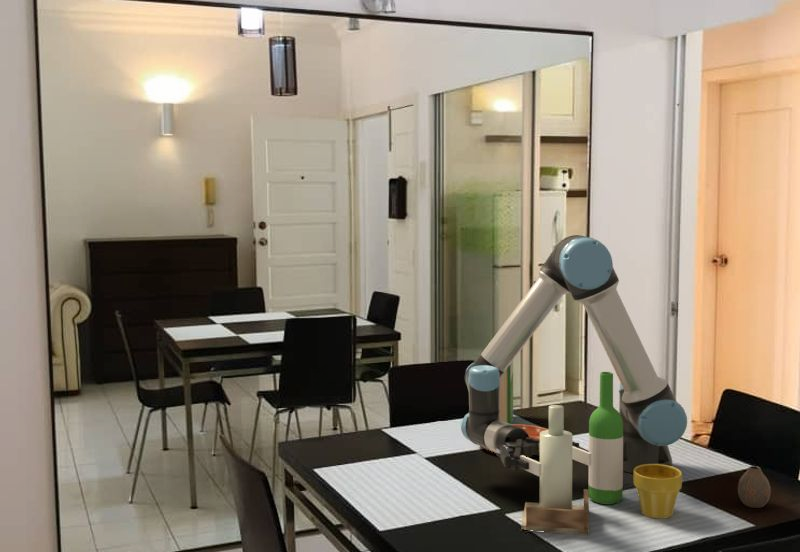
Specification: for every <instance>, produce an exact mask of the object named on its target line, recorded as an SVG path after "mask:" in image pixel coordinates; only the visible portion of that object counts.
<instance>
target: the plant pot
mask: <svg viewBox="0 0 800 552" xmlns="http://www.w3.org/2000/svg"><path fill="white" fill-rule="evenodd" d="M632 474H633V475H632V476H633V477H632V478H633V479H632V480H633V485H634V486H635V488H636V491H637V495H638V500H639V506H640V511H641V513H642V514H643V515H644V516H645V517H647V518H651V519H669V518H670V517H672V516H673V513H674V510H675V506H676V502H677V498H678V494H679V491H681V489H682V486H683V473H682V471H681V470H680V469H679V468H677V467H674V466H673V465H672V466H668V465H662V464H644V465H640V466H637V467H635V468H634V470H633V473H632Z"/></svg>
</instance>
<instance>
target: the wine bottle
mask: <svg viewBox="0 0 800 552" xmlns="http://www.w3.org/2000/svg"><path fill="white" fill-rule="evenodd" d="M588 452H590V453H592V465H591V466H588V496H589V500H591V501H593V502H595V503H597V504H601V505H613V504H614V505H615V504H617V503H620V502H621V501H622V500H623V492H624V491H623V490H624V489H623V485H624V483H623V482H624V476H623V475H624V471H623V420H622V417H621V415H620V413H619V410H617V409H616V408H615V407H614V373H613V372H612V371H602V372H600V374H599V405H598V407H597V408H596V409H594V411H593V412H592V413H591V414H590V417H589V421H588Z"/></svg>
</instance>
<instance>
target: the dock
mask: <svg viewBox="0 0 800 552" xmlns="http://www.w3.org/2000/svg"><path fill="white" fill-rule="evenodd" d="M588 491H589V488H588V489H587V488H584V489H583V505H578V504H572V509H558V508H540V507H539V504H540V502H531V501H530V502H527V501H525V503H524V510H523V514H522V520H521V530H522V529H524V530H533V531H544V532H543V533H547V532H552V534H563V533H565V535H567V534H568V535H582V536H589V535H590V497H589V492H588Z"/></svg>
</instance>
